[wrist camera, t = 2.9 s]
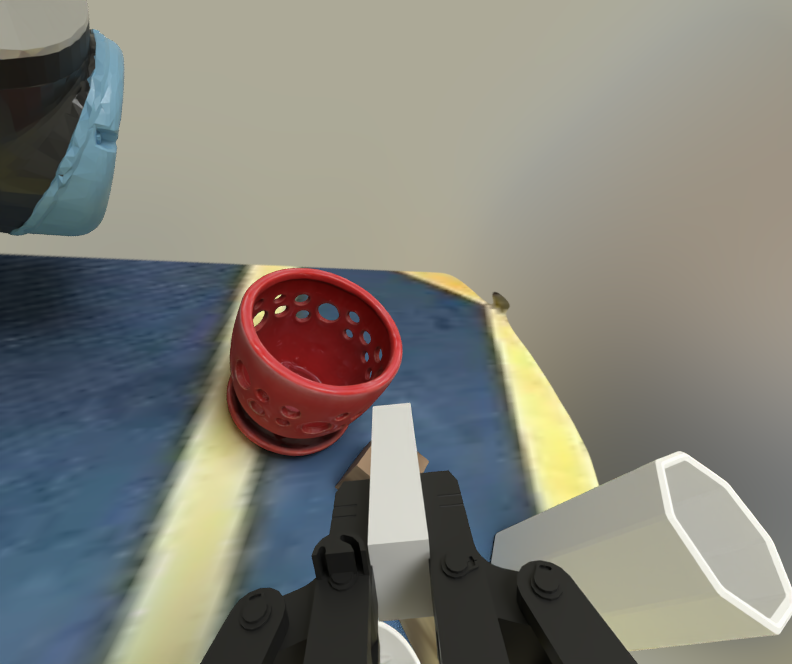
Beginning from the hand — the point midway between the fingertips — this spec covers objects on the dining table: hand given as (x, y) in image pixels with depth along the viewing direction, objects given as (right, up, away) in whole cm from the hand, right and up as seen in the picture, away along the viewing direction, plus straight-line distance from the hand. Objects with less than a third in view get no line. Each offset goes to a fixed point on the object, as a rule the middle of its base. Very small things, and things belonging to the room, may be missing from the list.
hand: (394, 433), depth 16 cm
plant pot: (-11, -3, +22) cm, 25 cm away
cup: (+13, -20, +22) cm, 33 cm away
